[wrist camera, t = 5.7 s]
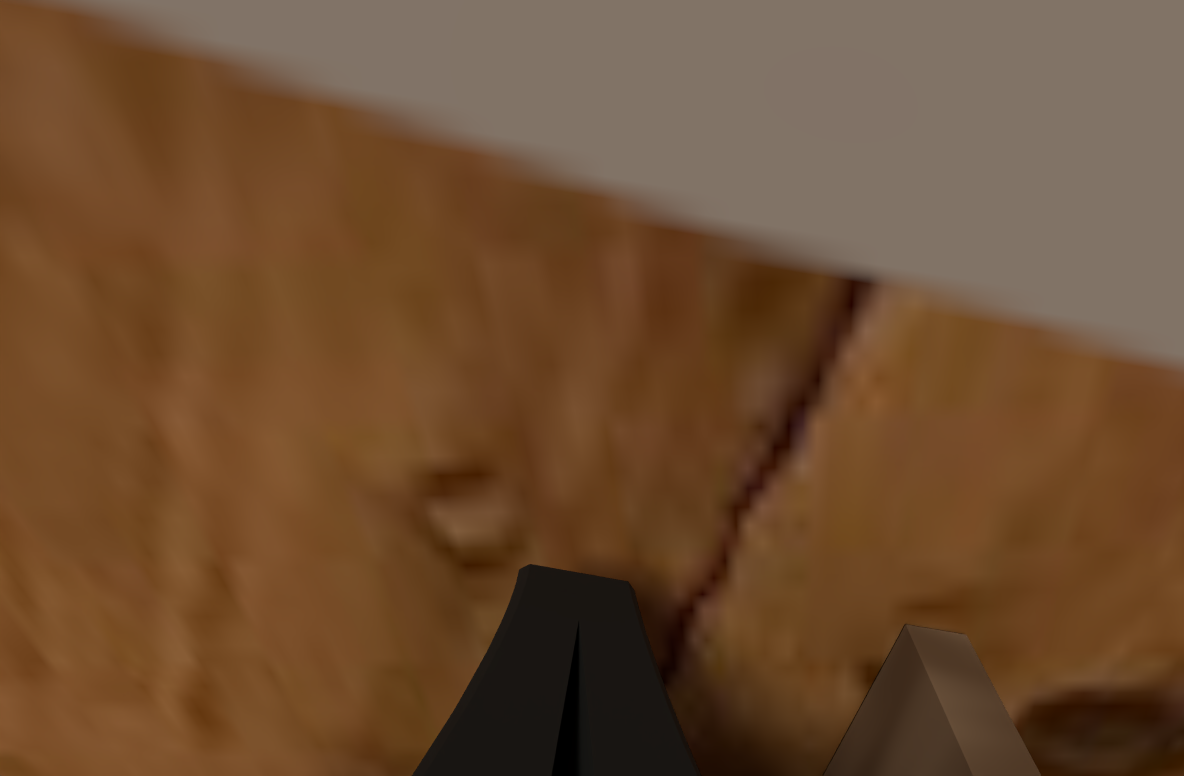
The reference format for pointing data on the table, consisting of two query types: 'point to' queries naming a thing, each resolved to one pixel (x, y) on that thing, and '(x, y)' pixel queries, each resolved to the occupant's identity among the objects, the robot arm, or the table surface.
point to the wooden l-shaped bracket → (932, 716)
